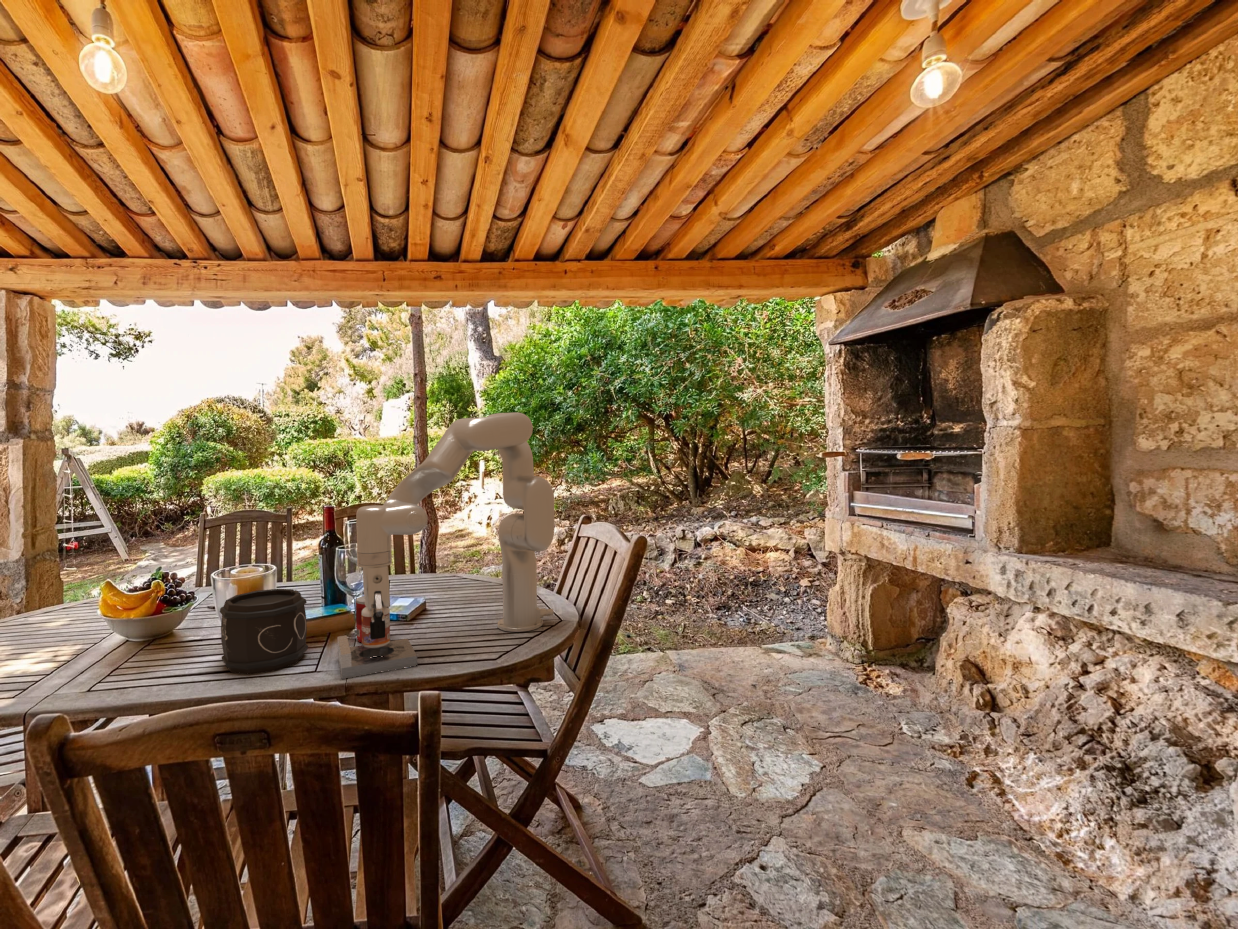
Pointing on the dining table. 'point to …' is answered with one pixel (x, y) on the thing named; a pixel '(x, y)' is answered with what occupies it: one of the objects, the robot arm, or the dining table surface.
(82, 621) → the dining table surface
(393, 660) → the jig
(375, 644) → the pill bottle
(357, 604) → the canned food
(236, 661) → the chalk-marked storage tub
